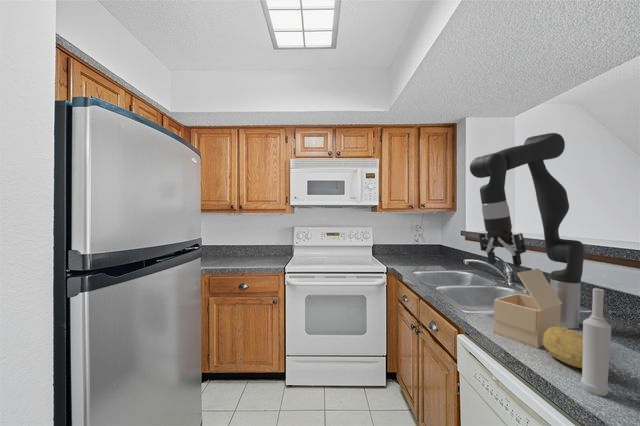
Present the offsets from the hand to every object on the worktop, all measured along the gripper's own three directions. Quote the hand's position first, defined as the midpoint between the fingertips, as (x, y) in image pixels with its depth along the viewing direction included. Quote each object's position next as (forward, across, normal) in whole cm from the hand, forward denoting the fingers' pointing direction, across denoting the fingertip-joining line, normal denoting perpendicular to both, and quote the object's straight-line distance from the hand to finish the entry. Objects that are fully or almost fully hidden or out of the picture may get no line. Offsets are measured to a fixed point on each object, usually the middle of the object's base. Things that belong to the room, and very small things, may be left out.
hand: (504, 264), depth 99 cm
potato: (+28, -13, -2) cm, 31 cm away
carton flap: (+12, 0, -14) cm, 18 cm away
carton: (+28, +5, -10) cm, 30 cm away
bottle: (+27, -24, +6) cm, 37 cm away
